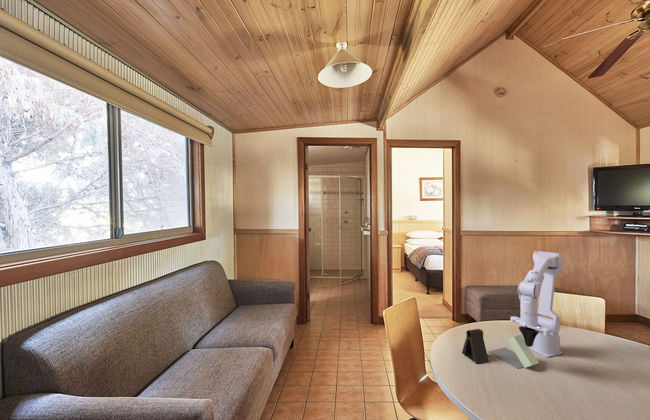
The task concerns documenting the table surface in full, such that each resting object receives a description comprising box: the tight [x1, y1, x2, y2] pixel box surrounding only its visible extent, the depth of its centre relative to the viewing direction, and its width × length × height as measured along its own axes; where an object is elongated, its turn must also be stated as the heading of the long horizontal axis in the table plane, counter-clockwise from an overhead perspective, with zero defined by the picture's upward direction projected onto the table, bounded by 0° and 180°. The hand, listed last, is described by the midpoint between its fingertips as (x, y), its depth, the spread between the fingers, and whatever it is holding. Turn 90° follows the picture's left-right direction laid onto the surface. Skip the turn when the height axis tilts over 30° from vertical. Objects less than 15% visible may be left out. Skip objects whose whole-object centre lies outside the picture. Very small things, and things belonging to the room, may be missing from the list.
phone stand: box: [461, 328, 490, 365], centre depth 125 cm, size 9×6×12 cm, turn 13°
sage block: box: [507, 334, 540, 369], centre depth 119 cm, size 4×4×11 cm
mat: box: [487, 346, 524, 369], centre depth 124 cm, size 10×14×1 cm
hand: (529, 345), depth 117 cm, fingers closed
